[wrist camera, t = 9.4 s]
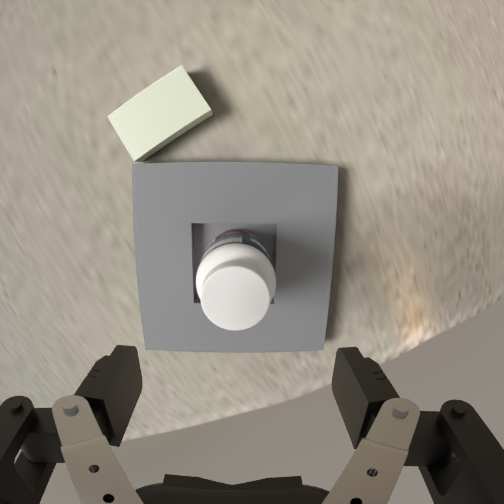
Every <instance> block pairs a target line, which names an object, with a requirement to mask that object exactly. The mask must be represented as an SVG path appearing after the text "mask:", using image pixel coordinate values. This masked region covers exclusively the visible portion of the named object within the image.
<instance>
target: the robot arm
mask: <svg viewBox="0 0 504 504" xmlns="http://www.w3.org/2000/svg"><path fill="white" fill-rule="evenodd" d="M141 391H142V375H141V369H140V364H139V358H138V352H137V349H136V347H135V346H125V345H117V346H116V347H115V349H114V350H113V352H112V353H111V355H110V356H106V355H105V356H104V357H102V358H101V359H99V360H98V361H96V363H95V364H94V366H93V367H92V369H91V370H90V372H89V373H88V375H87V376H86V378H85V379H84V380H83V382H82V383H81V385H80V386H79V388H78V389H77V391H76V392H75V394H74V395H69V396H65V397H62V398H60V399H58V400H57V401H56V402H55V403H54V404H53V407H52V408H34V406H33V404H32V401H31V400H30V399H29V398H27V397H24V396H14V397H11V398H9V399H7V400H5V401H4V402H3V403H2V405H1V406H0V504H39V503H40V501H41V498H42V496H43V494H44V491H45V489H46V486H47V484H48V481H49V479H50V477H51V475H52V472H53V469H54V468H55V465H56V463H66V466H67V469H68V471H69V474H70V477H71V480H72V482H73V485H74V487H75V490H76V492H77V495H78V497H79V499H80V502H81V504H387V503H388V501H389V499H390V496H391V494H392V492H393V490H394V487H395V485H396V483H397V480H398V478H399V475H400V473H401V470H402V468H403V466H418V467H419V469H420V472H421V474H422V476H423V479H424V481H425V483H426V485H427V488H428V490H429V493H430V495H431V497H432V499H433V502H434V504H504V449H503V448H502V447H501V445H500V444H499V442H498V441H497V440H496V438H495V437H494V435H493V434H492V433H491V431H490V430H489V428H488V427H487V426H486V424H485V423H484V422H483V420H482V419H481V418H480V416H479V415H478V413H477V412H476V411H475V410H474V408H473V407H472V406H471V405H470V404H468V403H467V402H464V401H461V400H449V401H447V402H445V403H444V404H443V405H442V407H441V410H440V412H435V411H420V410H419V407H418V406H417V405H416V404H415V403H414V402H412V401H410V400H408V399H404V398H400V397H399V395H398V394H397V392H396V391H395V389H394V387H393V386H392V384H391V383H390V381H389V380H388V379H387V377H386V375H385V374H384V373H383V371H382V369H381V368H380V366H379V364H378V363H376V362H375V361H373V360H372V359H370V358H369V357H368V358H364V357H363V356H362V354H361V353H360V351H359V349H358V348H357V347H346V348H338V350H337V353H336V359H335V365H334V371H333V377H332V391H333V394H334V397H335V400H336V402H337V405H338V407H339V410H340V413H341V415H342V418H343V420H344V423H345V426H346V428H347V431H348V433H349V436H350V438H351V441H352V444H353V447H354V449H356V451H355V452H354V454H353V456H352V457H351V459H350V461H349V462H348V464H347V466H346V467H345V469H344V471H343V472H342V474H341V475H340V477H339V479H338V480H337V482H336V483H335V485H334V486H333V488H332V489H331V491H330V492H329V491H327V490H324V489H322V488H318V487H314V486H309V485H302V479H301V476H294V477H277V478H265V479H261V480H256V481H251V482H247V483H242V484H236V485H229V484H224V483H220V482H215V481H211V480H207V479H203V478H200V477H189V476H178V475H169V474H165V476H164V481H163V483H157V484H151V485H148V486H144V487H141V488H139V489H136V490H135V489H134V488H133V486H132V484H131V483H130V481H129V479H128V478H127V476H126V474H125V472H124V471H123V469H122V467H121V465H120V464H119V462H118V460H117V458H116V456H115V455H114V452H113V451H112V449H111V447H110V445H112V446H117V447H119V446H120V444H121V441H122V439H123V436H124V433H125V431H126V428H127V426H128V423H129V421H130V418H131V416H132V413H133V411H134V408H135V406H136V403H137V401H138V398H139V396H140V394H141ZM20 449H21V450H22V451H21V453H20V455H19V457H18V459H17V460H16V462H15V464H14V461H15V457H16V455H17V453H18V452H19V450H20ZM455 456H456V457H455ZM456 458H457V459H456Z"/></svg>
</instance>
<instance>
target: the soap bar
mask: <svg viewBox="0 0 504 504" xmlns="http://www.w3.org/2000/svg"><path fill="white" fill-rule="evenodd" d="M212 115H213V113H212V110H211V108H210V107H209V105H208V104H207V102H206V101H205V99H204V98H203V96H202V95H201V93H200V92H199V90H198V89H197V87H196V86H195V84H194V83H193V82H192V80H191V79H190V77H189V76H188V74H187V73H186V71H185V70H184V68H183V67H182V65H181V66H179V67H178V68H176V69H174V70H173V71H171V72H170V73H168V74H167V75H165V76H163V77H162V78H160V79H159V80H157V81H156V82H154V83H153V84H151V85H150V86H148V87H147V88H145V89H144V90H143V91H141V92H140V93H138V94H137V95H135V96H134V97H133V98H131V99H130V100H128V101H127V102H126V103H124V104H123V105H122V106H120V107H119V108H118V109H116V110H115V111H114V112H112V113H111V114H110V115H109V116H107V117H108V119H109V120H110V122H111V124H112V125H113V127H114V129H115V130H116V132H117V134H118V135H119V137H120V139H121V140H122V142H123V144H124V145H125V147H126V148H127V150H128V152H129V153H130V155H131V157H132V158H133V160H134V161H138V162H143V161H144V160H146V159H147V158H148V157H150V156H151V155H153V154H154V153H155V152H157V151H158V150H160V149H161V148H163V147H164V146H166V145H167V144H168V143H170V142H171V141H173V140H174V139H176V138H177V137H179V136H180V135H182V134H183V133H185V132H186V131H188V130H190V129H191V128H193V127H194V126H196V125H197V124H199V123H200V122H202V121H204V120H205V119H207V118H208V117H210V116H212Z"/></svg>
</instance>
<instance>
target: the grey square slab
mask: <svg viewBox="0 0 504 504" xmlns="http://www.w3.org/2000/svg"><path fill="white" fill-rule="evenodd" d="M132 188H133V222H134V242H135V257H136V270H137V281H138V292H139V302H140V311H141V319H142V327H143V334H144V342H145V349H148V350H165V351H187V352H237V353H243V352H294V351H316V350H323V349H324V342H325V334H326V326H327V317H328V309H329V299H330V289H331V279H332V268H333V256H334V243H335V228H336V211H337V191H338V166H332V165H317V164H298V163H273V162H171V163H146V164H132ZM233 229H239V230H245V231H248V232H250V233H252V234H254V235H255V236H257V237H258V238H259V239H260V240H261V241H262V243H263V244H264V246H265V247H266V250H267V252H268V255H269V258H270V261H271V263H272V266H273V268H274V271H275V276H276V289H275V293H274V296H273V299H272V301H271V302H270V305H269V308H268V311H267V313H266V315H265V316H264V317H263V319H262V320H261V321H260V322H258V323H257V324H256V325H254V326H252V327H250V328H248V329H244V330H236V331H235V330H227V329H224V328H221V327H219V326H217V325H215V324H214V323H213V322H211V321H210V320H209V319H208V317H207V316H206V315H205V313H204V311H203V309H202V306H201V300H200V298H199V295H198V293H197V288H196V275H197V270H198V267H199V264H200V262H201V259H202V257H203V255H204V253H205V251H206V248H207V246H208V245H209V243H210V242H211V241H212V240H213V239H214V238H215V237H216V236H217V235H219V234H220V233H222V232H225V231H228V230H233Z"/></svg>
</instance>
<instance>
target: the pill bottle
mask: <svg viewBox="0 0 504 504" xmlns="http://www.w3.org/2000/svg"><path fill="white" fill-rule="evenodd" d="M196 288H197V293H198V295H199V298H200V300H201V306H202V309H203V311H204V313H205V315H206V316H207V317H208V319H209V320H210V321H211V322H213V323H214V324H215V325H217V326H219V327H221V328H224V329H227V330H235V331H236V330H244V329H248V328H250V327H252V326H254V325H256V324H257V323H258V322H260V321H261V320H262V319H263V317H264V316H265V315H266V313H267V311H268V308H269V305H270V302H271V301H272V299H273V296H274V293H275V289H276V276H275V271H274V268H273V266H272V263H271V261H270V258H269V255H268V252H267V250H266V247H265V246H264V244H263V243H262V241H261V240H260V239H259V238H258V237H257V236H255V235H254V234H252V233H250V232H248V231H245V230H239V229H233V230H228V231H225V232H222V233H220V234H219V235H217V236H216V237H215V238H214V239H213V240H212V241H211V242H210V243H209V245H208V246H207V248H206V251H205V253H204V255H203V257H202V259H201V262H200V264H199V267H198V270H197V275H196Z"/></svg>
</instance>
